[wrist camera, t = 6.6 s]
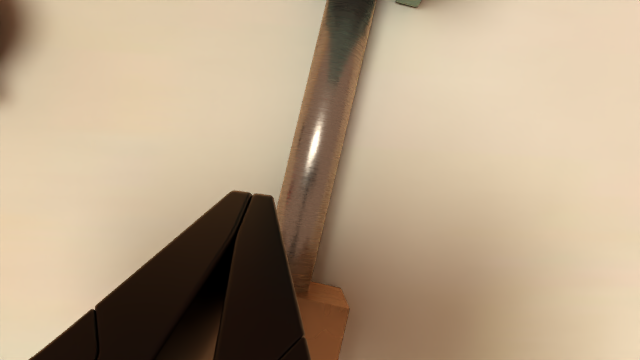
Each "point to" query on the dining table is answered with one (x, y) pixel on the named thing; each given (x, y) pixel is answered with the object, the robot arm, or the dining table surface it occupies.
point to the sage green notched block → (410, 2)
